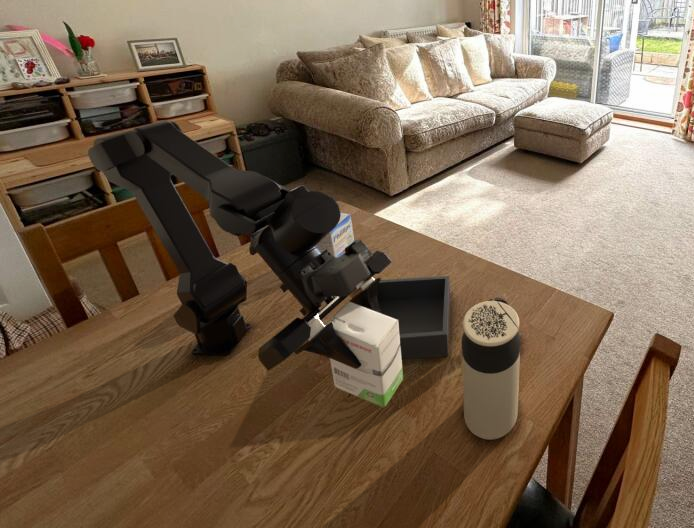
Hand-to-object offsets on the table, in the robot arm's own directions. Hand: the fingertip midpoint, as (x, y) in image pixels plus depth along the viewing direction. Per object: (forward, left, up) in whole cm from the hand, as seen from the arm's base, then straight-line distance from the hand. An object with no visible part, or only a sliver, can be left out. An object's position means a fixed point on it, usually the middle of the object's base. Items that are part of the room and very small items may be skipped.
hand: (372, 351), depth 54 cm
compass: (+18, +14, -13) cm, 26 cm away
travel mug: (+16, +1, -13) cm, 21 cm away
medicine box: (-22, +38, -13) cm, 46 cm away
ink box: (-1, +1, -7) cm, 7 cm away
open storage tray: (0, +17, -13) cm, 22 cm away
